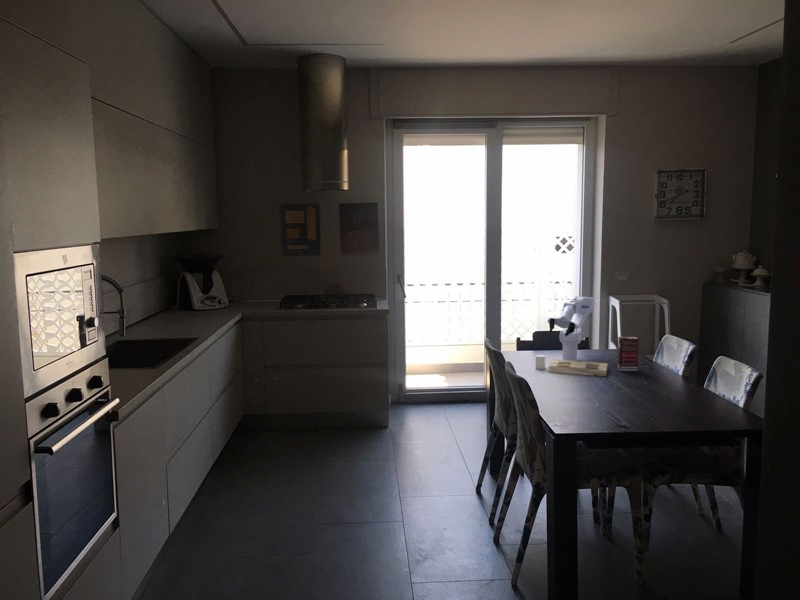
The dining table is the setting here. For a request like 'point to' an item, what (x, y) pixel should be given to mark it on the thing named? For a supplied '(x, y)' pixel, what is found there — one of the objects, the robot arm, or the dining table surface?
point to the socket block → (578, 367)
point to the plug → (540, 361)
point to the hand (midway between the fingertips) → (558, 332)
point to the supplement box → (628, 353)
